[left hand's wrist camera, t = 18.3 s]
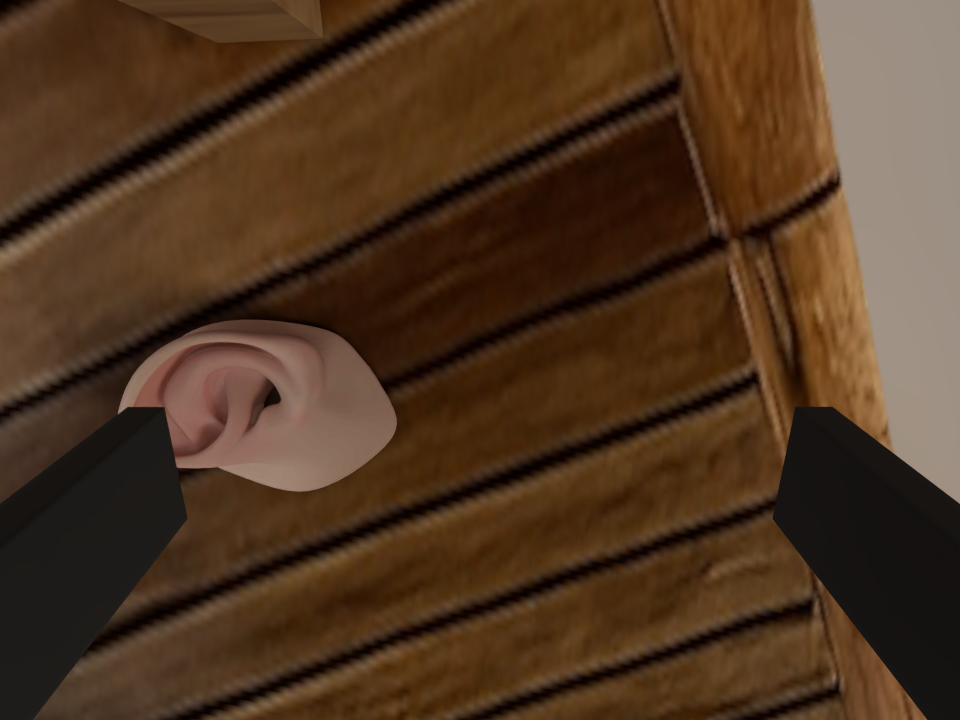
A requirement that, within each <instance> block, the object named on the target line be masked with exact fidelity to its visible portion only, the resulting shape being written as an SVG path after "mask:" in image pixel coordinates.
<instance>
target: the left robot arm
mask: <svg viewBox="0 0 960 720" xmlns="http://www.w3.org/2000/svg"><path fill="white" fill-rule="evenodd" d="M186 520H187V514H186V509H185V505H184V500H183V495H182V490H181V485H180V480H179V475H178V470H177V466H176V461H175V456H174V451H173V446H172V441H171V436H170V431H169V426H168V422H167V417H166V412H165V407H127V408H126V409H124V410H123V411H122V412H120V413H119V414H118V415H116V416H115V417H114V418H112V419H111V420H110V421H108V422H107V423H106V424H105V425H103V426H102V427H101V428H99V429H98V430H97V431H95V432H94V433H93V434H91V435H90V436H89V437H87V438H86V439H85V440H84V441H82V442H81V443H80V444H78V445H77V446H76V447H74V448H73V449H72V450H70V451H69V452H68V453H66V454H65V455H64V456H63V457H61V458H60V459H59V460H57V461H56V462H55V463H53V464H52V465H51V466H49V467H48V468H47V469H45V470H44V471H43V472H42V473H40V474H39V475H38V476H36V477H35V478H34V479H32V480H31V481H30V482H28V483H27V484H26V485H24V486H23V487H22V488H21V489H19V490H18V491H17V492H15V493H14V494H13V495H11V496H10V497H9V498H7V499H6V500H5V501H3V502H2V503H1V504H0V720H33V719H34V717H35V716H36V715H37V713H38V712H39V711H40V709H41V708H42V707H43V706H44V704H45V703H46V702H47V700H48V699H49V698H50V696H51V695H52V694H53V693H54V691H55V690H56V689H57V687H58V686H59V685H60V683H61V682H62V681H63V680H64V678H65V677H66V676H67V674H68V673H69V672H70V670H71V669H72V668H73V667H74V665H75V664H76V663H77V661H78V660H79V659H80V657H81V656H82V655H83V654H84V652H85V651H86V650H87V648H88V647H89V646H90V645H91V643H92V642H93V641H94V639H95V638H96V637H97V635H98V634H99V633H100V632H101V630H102V629H103V628H104V626H105V625H106V624H107V622H108V621H109V620H110V619H111V617H112V616H113V615H114V613H115V612H116V611H117V609H118V608H119V607H120V606H121V604H122V603H123V602H124V600H125V599H126V598H127V596H128V595H129V594H130V593H131V591H132V590H133V589H134V587H135V586H136V585H137V583H138V582H139V581H140V580H141V578H142V577H143V576H144V574H145V573H146V572H147V570H148V569H149V568H150V567H151V565H152V564H153V563H154V561H155V560H156V559H157V557H158V556H159V555H160V554H161V552H162V551H163V550H164V548H165V547H166V546H167V544H168V543H169V542H170V541H171V539H172V538H173V537H174V535H175V534H176V533H177V531H178V530H179V529H180V528H181V526H182V525H183V524H184V522H185V521H186ZM773 520H774V521H775V522H776V524H777V525H778V526H779V528H780V529H781V530H782V531H783V533H784V534H785V535H786V537H787V538H788V539H789V541H790V542H791V543H792V544H793V546H794V547H795V548H796V550H797V551H798V552H799V554H800V555H801V556H802V557H803V559H804V560H805V561H806V563H807V564H808V565H809V567H810V568H811V569H812V570H813V572H814V573H815V574H816V576H817V577H818V578H819V580H820V581H821V582H822V583H823V585H824V586H825V587H826V589H827V590H828V591H829V593H830V594H831V595H832V596H833V598H834V599H835V600H836V602H837V603H838V604H839V606H840V607H841V608H842V609H843V611H844V612H845V613H846V615H847V616H848V617H849V619H850V620H851V621H852V622H853V624H854V625H855V626H856V628H857V629H858V630H859V632H860V633H861V634H862V635H863V637H864V638H865V639H866V641H867V642H868V643H869V645H870V646H871V647H872V648H873V650H874V651H875V652H876V654H877V655H878V656H879V657H880V659H881V660H882V661H883V663H884V664H885V665H886V667H887V668H888V669H889V670H890V672H891V673H892V674H893V676H894V677H895V678H896V680H897V681H898V682H899V683H900V685H901V686H902V687H903V689H904V690H905V691H906V693H907V694H908V695H909V696H910V698H911V699H912V700H913V702H914V703H915V704H916V706H917V707H918V708H919V709H920V711H921V712H922V713H923V715H924V716H925V717H926V719H927V720H960V504H959V503H958V502H957V501H955V500H954V499H953V498H951V497H950V496H949V495H947V494H946V493H945V492H943V491H942V490H941V489H939V488H938V487H937V486H936V485H934V484H933V483H932V482H930V481H929V480H928V479H926V478H925V477H924V476H922V475H921V474H920V473H918V472H917V471H916V470H915V469H913V468H912V467H911V466H909V465H908V464H907V463H905V462H904V461H903V460H901V459H900V458H899V457H897V456H896V455H895V454H894V453H892V452H891V451H890V450H888V449H887V448H886V447H884V446H883V445H882V444H880V443H879V442H878V441H876V440H875V439H874V438H873V437H871V436H870V435H869V434H867V433H866V432H865V431H863V430H862V429H861V428H859V427H858V426H857V425H855V424H854V423H853V422H852V421H850V420H849V419H848V418H846V417H845V416H844V415H842V414H841V413H840V412H838V411H837V410H836V409H834V408H833V407H795V412H794V417H793V422H792V426H791V431H790V436H789V441H788V446H787V451H786V456H785V461H784V466H783V470H782V475H781V480H780V485H779V490H778V495H777V500H776V505H775V509H774V514H773Z"/></svg>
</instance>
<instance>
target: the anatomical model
mask: <svg viewBox="0 0 960 720" xmlns="http://www.w3.org/2000/svg"><path fill="white" fill-rule="evenodd" d="M127 407H165V412H166V417H167V422H168V426H169V431H170V436H171V441H172V446H173V451H174V456H175V461H176V466H177V467H180V468H213V467H219V468H221V469H223V470H226V471H228V472H231V473H234V474H236V475H239V476H241V477H244V478H247V479H250V480H252V481H255V482H258V483H261V484H264V485H267V486H271V487H274V488H278V489H283V490H289V491H310V490H315V489H319V488H322V487H325V486H328V485H330V484H332V483H334V482H337V481H339V480H341V479H342V478H344V477H346V476H348V475H349V474H351V473H352V472H354V471H355V470H357V469H358V468H360V467H361V466H362V465H364V464H365V463H366V462H368V461H369V460H370V459H371V458H373V457H374V456H375V455H376V454H377V453H378V452H379V451H380V450H382V449H383V448H384V447H385V446H386V444H387V443H388V442H389V441H390V440H391V438H392V436H393V435H394V433H395V430H396V426H397V419H396V414H395V411H394V409H393V406H392V404H391V402H390V400H389V398H388V396H387V395H386V393H385V391H384V390H383V388H382V386H381V385H380V383H379V381H378V380H377V378H376V376H375V375H374V373H373V372H372V370H371V369H370V368H369V366H368V365H367V364H366V363H365V361H364V360H363V359H362V358H361V357H360V356H359V354H358V353H357V352H356V351H355V350H354V348H353V347H352V346H351V345H350V344H349V343H348V342H347V341H345V340H344V339H343V338H342V337H340V336H338V335H337V334H335V333H333V332H330V331H328V330H324V329H321V328H317V327H313V326H308V325H302V324H296V323H288V322H280V321H269V320H232V321H224V322H219V323H214V324H210V325H207V326H203V327H200V328H198V329H195V330H193V331H191V332H189V333H187V334H185V335H184V336H182V337H180V338H178V339H176V340H174V341H172V342H170V343H168V344H166V345H165V346H163V347H162V348H160V349H159V350H157V351H156V352H155V353H153V354H152V355H151V356H150V357H149V358H147V359H146V360H145V361H144V362H143V363H142V364H141V365H140V367H139V368H138V369H137V370H136V372H135V373H134V374H133V376H132V378H131V380H130V381H129V383H128V385H127V387H126V389H125V392H124V394H123V397H122V400H121V403H120V407H119V411H118V414H119V413H120V412H122V411H123V410H124V409H126V408H127Z"/></svg>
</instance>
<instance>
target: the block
mask: <svg viewBox="0 0 960 720" xmlns="http://www.w3.org/2000/svg"><path fill="white" fill-rule="evenodd" d="M118 1H121V2H123V3H125V4H128V5H130V6H132V7H135V8H137V9H139V10H142V11H144V12H146V13H149V14H151V15H153V16H156V17H158V18H161V19H163V20H165V21H168V22H170V23H172V24H175V25H177V26H179V27H182V28H184V29H186V30H189V31H191V32H193V33H196V34H198V35H200V36H203V37H205V38H207V39H210V40H212V41H214V42H217V43H229V42H254V41H278V40H303V39H322V38H323V28H322V19H321V10H320V1H319V0H118Z"/></svg>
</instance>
